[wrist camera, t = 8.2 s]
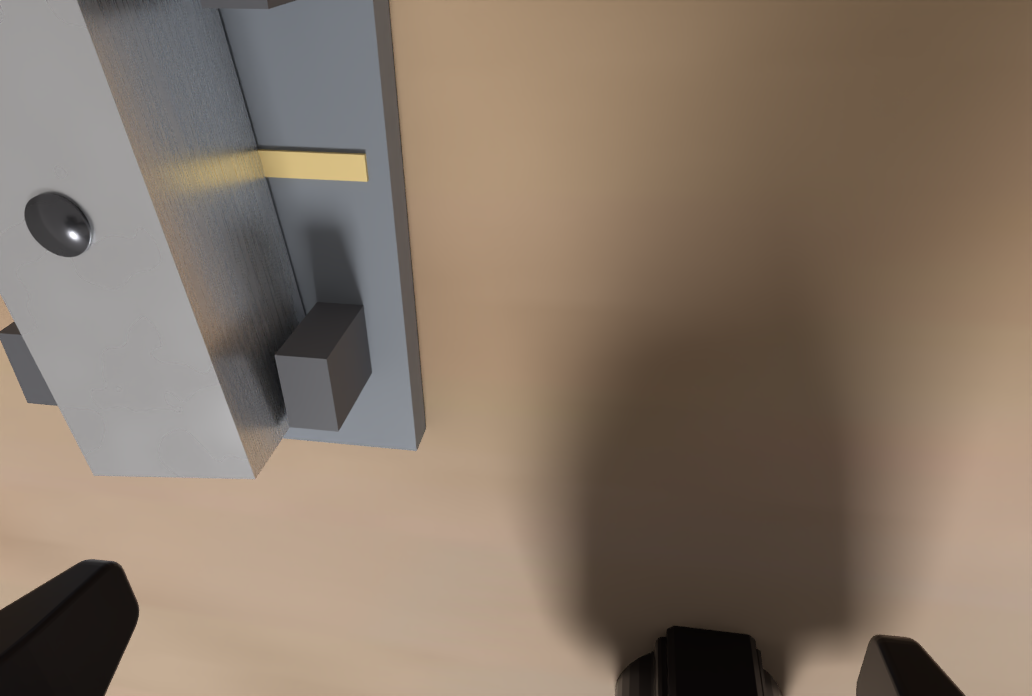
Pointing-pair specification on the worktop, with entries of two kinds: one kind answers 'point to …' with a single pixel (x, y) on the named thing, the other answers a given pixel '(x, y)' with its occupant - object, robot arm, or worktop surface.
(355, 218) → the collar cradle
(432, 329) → the worktop surface
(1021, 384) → the worktop surface
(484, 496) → the worktop surface
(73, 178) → the shiny metal block
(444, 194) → the worktop surface
